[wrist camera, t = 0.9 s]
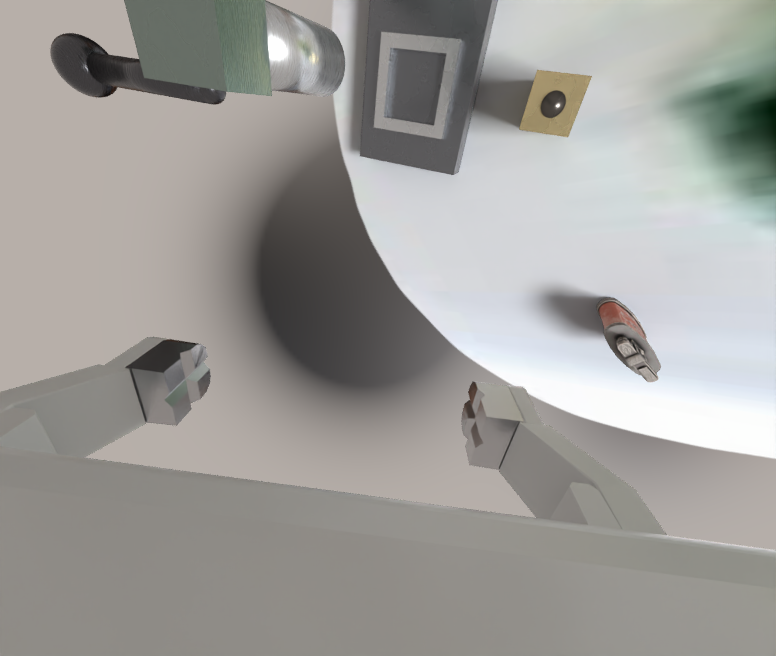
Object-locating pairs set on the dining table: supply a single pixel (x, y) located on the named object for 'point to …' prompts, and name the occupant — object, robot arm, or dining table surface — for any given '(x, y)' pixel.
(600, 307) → the lighter
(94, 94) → the press
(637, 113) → the dining table surface
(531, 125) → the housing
